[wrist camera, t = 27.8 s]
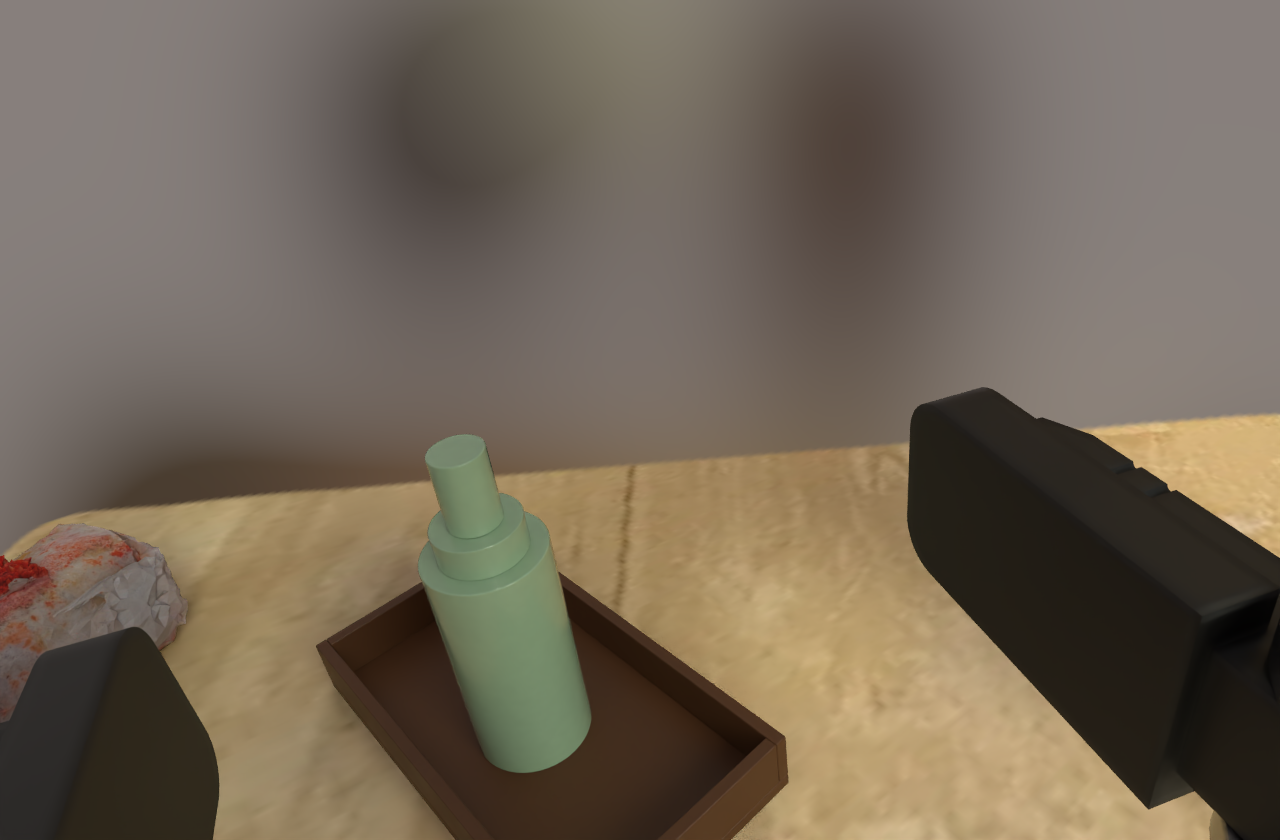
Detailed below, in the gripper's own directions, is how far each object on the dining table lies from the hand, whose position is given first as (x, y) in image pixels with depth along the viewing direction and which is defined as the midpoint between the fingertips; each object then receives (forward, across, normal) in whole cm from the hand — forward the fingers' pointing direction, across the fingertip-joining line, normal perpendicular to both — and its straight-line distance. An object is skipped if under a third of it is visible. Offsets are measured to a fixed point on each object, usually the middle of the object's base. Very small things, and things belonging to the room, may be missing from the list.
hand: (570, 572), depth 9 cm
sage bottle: (+23, +2, +27) cm, 36 cm away
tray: (+23, +2, +28) cm, 36 cm away
